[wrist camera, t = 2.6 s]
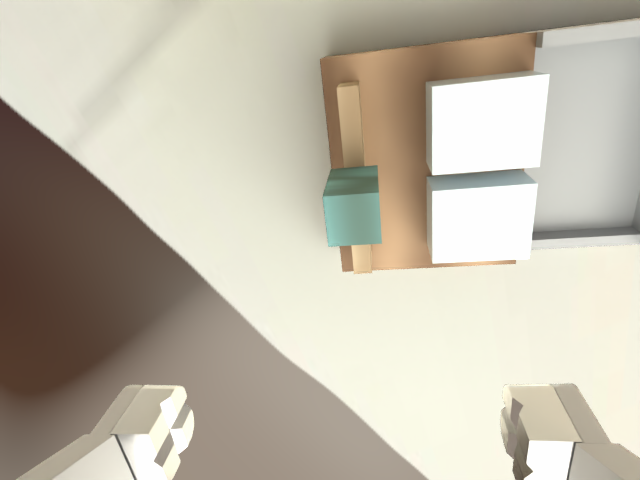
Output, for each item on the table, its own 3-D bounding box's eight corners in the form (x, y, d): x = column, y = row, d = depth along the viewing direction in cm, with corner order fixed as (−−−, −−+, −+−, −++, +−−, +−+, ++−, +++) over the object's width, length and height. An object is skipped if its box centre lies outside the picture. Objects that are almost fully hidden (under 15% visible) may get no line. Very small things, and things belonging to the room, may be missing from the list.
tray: (500, 239, 34) (520, 270, 29) (515, 33, 27) (543, 31, 23) (636, 232, 32) (679, 263, 28) (685, 12, 26) (752, 6, 21)
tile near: (426, 162, 27) (432, 175, 25) (425, 81, 25) (432, 86, 23) (522, 154, 27) (539, 166, 24) (529, 70, 25) (549, 73, 22)
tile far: (427, 243, 30) (432, 263, 27) (426, 176, 28) (432, 191, 25) (515, 238, 29) (529, 258, 26) (521, 169, 27) (537, 183, 24)
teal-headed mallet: (344, 254, 31) (337, 318, 24) (327, 84, 26) (311, 101, 19) (382, 252, 31) (386, 316, 24) (372, 79, 26) (373, 94, 18)
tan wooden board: (345, 248, 35) (342, 271, 32) (326, 56, 29) (320, 58, 25) (500, 239, 34) (515, 263, 30) (515, 33, 27) (537, 32, 24)
